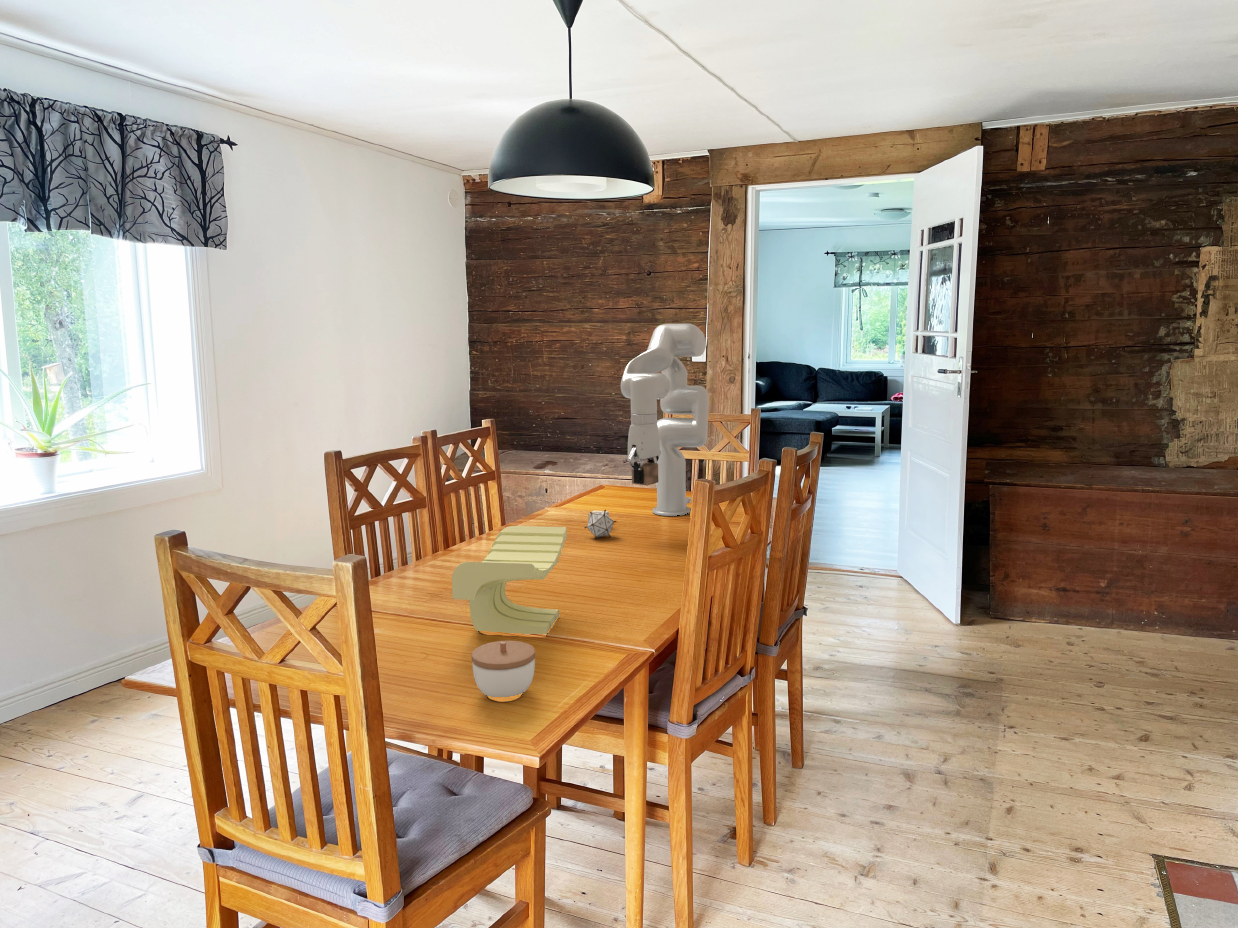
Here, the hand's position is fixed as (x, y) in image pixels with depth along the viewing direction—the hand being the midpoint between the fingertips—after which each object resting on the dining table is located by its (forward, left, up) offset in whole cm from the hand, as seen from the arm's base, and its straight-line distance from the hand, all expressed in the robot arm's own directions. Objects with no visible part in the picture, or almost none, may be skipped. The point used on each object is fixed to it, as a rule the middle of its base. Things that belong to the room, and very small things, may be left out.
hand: (645, 480), depth 250 cm
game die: (+7, -12, -17) cm, 22 cm away
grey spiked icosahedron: (-2, -20, -17) cm, 26 cm away
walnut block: (0, 0, -1) cm, 1 cm away
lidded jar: (+102, +44, -17) cm, 112 cm away
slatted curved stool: (+76, +21, -17) cm, 80 cm away
